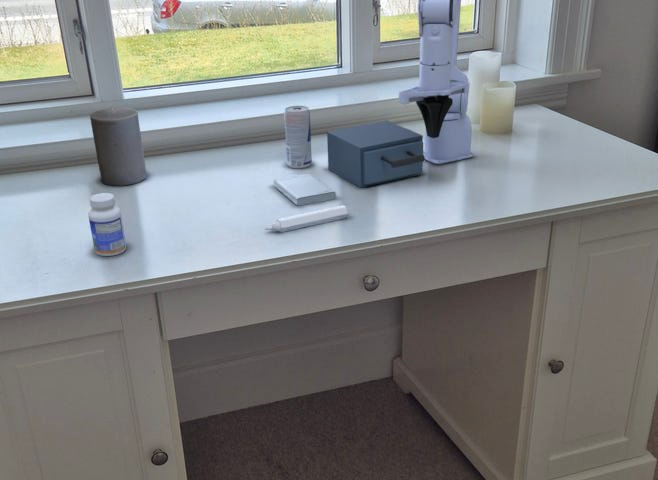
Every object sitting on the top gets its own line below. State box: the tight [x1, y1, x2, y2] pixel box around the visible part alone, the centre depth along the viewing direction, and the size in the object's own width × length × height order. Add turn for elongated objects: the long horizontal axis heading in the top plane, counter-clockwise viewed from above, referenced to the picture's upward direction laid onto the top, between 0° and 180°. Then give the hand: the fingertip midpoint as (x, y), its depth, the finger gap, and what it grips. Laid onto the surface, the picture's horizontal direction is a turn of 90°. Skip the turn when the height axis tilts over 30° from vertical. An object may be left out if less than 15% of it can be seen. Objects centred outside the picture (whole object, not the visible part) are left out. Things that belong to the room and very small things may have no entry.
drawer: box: [363, 141, 426, 185], centre depth 168 cm, size 18×13×6 cm
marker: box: [264, 204, 349, 233], centre depth 149 cm, size 3×2×16 cm
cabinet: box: [326, 120, 424, 189], centre depth 171 cm, size 14×15×8 cm
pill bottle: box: [87, 192, 127, 257], centre depth 140 cm, size 5×5×10 cm
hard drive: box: [273, 173, 337, 206], centre depth 163 cm, size 2×8×12 cm
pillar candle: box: [89, 106, 148, 187], centre depth 171 cm, size 10×10×15 cm
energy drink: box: [283, 105, 313, 169], centre depth 176 cm, size 5×5×12 cm
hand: (432, 136), depth 158 cm, fingers closed
